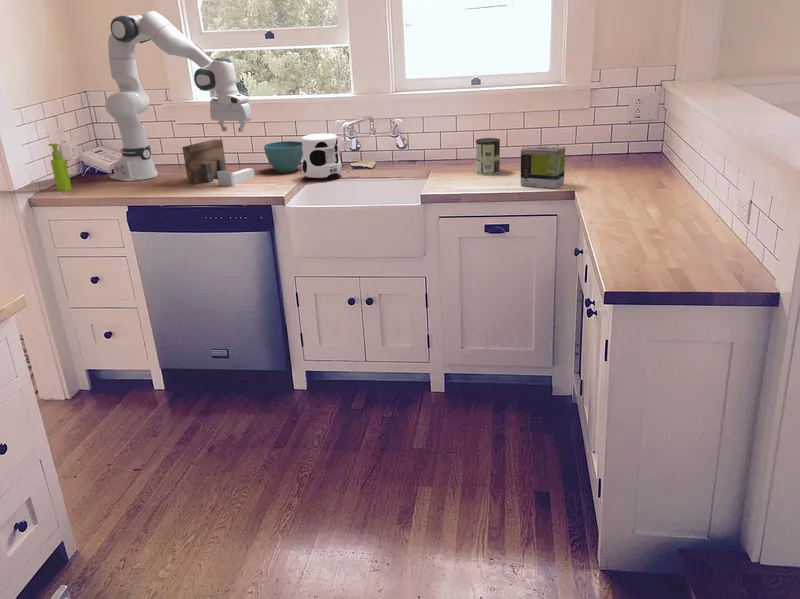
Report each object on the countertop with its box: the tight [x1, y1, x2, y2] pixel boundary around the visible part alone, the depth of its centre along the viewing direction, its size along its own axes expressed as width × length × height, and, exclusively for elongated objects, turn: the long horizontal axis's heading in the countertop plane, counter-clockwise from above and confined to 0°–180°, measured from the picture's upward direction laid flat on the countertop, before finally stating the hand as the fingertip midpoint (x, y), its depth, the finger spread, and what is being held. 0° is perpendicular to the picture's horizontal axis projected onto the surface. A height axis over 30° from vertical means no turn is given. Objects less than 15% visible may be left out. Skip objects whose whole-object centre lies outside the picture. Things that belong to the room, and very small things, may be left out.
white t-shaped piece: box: [217, 168, 255, 187], centre depth 308 cm, size 17×8×6 cm, turn 152°
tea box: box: [520, 145, 566, 189], centre depth 275 cm, size 15×10×15 cm
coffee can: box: [475, 137, 501, 176], centre depth 301 cm, size 10×10×14 cm
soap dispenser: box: [48, 143, 73, 192], centre depth 306 cm, size 6×7×20 cm
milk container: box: [301, 133, 342, 181], centre depth 305 cm, size 17×17×18 cm
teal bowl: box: [263, 140, 303, 174], centre depth 323 cm, size 18×18×12 cm
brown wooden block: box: [181, 138, 228, 185], centre depth 313 cm, size 8×20×16 cm, turn 152°
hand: (232, 131), depth 302 cm, fingers open, 8 cm apart
